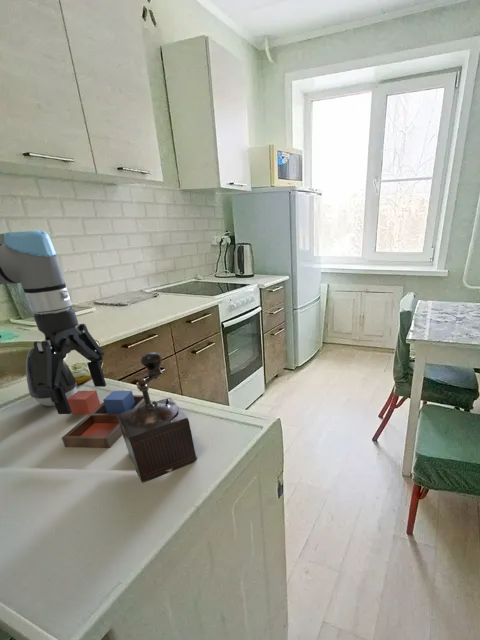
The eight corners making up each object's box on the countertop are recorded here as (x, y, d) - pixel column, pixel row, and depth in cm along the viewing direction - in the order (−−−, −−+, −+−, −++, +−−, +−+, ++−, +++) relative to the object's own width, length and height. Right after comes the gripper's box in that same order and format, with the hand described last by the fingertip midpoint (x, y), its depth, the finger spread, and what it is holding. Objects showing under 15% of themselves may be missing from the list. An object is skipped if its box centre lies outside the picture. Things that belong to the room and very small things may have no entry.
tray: (65, 449, 71) (61, 437, 70) (114, 405, 88) (111, 395, 86) (110, 450, 70) (106, 438, 69) (151, 405, 86) (149, 395, 85)
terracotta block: (72, 416, 83) (66, 399, 81) (84, 406, 87) (78, 390, 85) (90, 416, 83) (84, 399, 81) (101, 406, 87) (96, 390, 85)
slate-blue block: (108, 417, 81) (103, 399, 79) (118, 407, 85) (113, 390, 83) (126, 417, 80) (122, 399, 78) (136, 407, 84) (132, 390, 82)
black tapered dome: (84, 389, 97) (66, 336, 90) (77, 406, 88) (56, 348, 81) (42, 396, 94) (21, 342, 87) (30, 414, 85) (5, 355, 78)
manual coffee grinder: (201, 459, 66) (185, 371, 58) (141, 484, 61) (113, 390, 53) (174, 424, 78) (158, 347, 70) (121, 442, 72) (97, 361, 64)
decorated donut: (55, 389, 98) (51, 377, 96) (60, 375, 106) (56, 364, 105) (97, 381, 101) (93, 369, 99) (98, 368, 110) (95, 357, 108)
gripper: (24, 326, 63) (64, 427, 72) (103, 296, 85) (125, 376, 94) (-14, 327, 64) (30, 427, 73) (74, 298, 86) (99, 376, 95)
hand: (84, 398), depth 84 cm, fingers open, 13 cm apart
